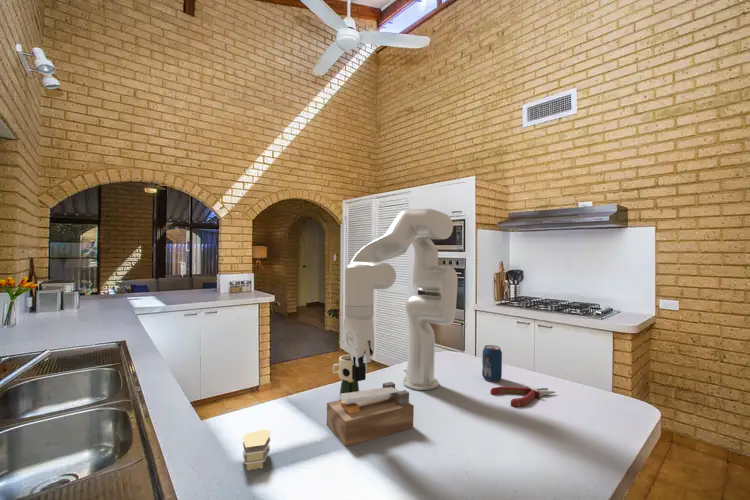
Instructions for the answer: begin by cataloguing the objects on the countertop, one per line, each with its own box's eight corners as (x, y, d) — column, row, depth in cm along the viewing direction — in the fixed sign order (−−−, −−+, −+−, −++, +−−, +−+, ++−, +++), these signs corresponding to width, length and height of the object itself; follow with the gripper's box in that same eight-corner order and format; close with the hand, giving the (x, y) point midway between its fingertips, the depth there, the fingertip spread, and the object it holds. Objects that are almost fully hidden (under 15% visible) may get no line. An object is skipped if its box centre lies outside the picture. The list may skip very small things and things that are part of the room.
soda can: (500, 377, 138) (501, 345, 138) (502, 383, 132) (503, 350, 132) (481, 375, 140) (482, 344, 140) (482, 381, 133) (483, 348, 133)
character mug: (332, 404, 111) (333, 361, 111) (331, 394, 118) (332, 354, 118) (368, 402, 113) (368, 360, 113) (364, 393, 120) (365, 354, 120)
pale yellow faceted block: (278, 472, 77) (279, 446, 77) (233, 479, 75) (234, 453, 75) (275, 447, 87) (276, 424, 87) (235, 453, 84) (236, 429, 84)
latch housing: (326, 424, 98) (327, 391, 98) (389, 410, 108) (390, 379, 108) (345, 446, 87) (346, 408, 87) (413, 427, 97) (413, 394, 97)
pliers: (566, 401, 118) (566, 392, 118) (513, 409, 111) (513, 400, 111) (538, 387, 129) (538, 380, 129) (488, 394, 122) (488, 386, 122)
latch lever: (339, 397, 96) (339, 393, 96) (392, 390, 104) (392, 386, 104) (347, 404, 92) (347, 399, 92) (401, 396, 100) (401, 391, 100)
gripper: (334, 307, 100) (334, 373, 101) (359, 317, 87) (359, 393, 88) (358, 305, 104) (358, 368, 105) (385, 314, 91) (385, 387, 92)
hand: (358, 379), depth 96 cm, fingers closed
